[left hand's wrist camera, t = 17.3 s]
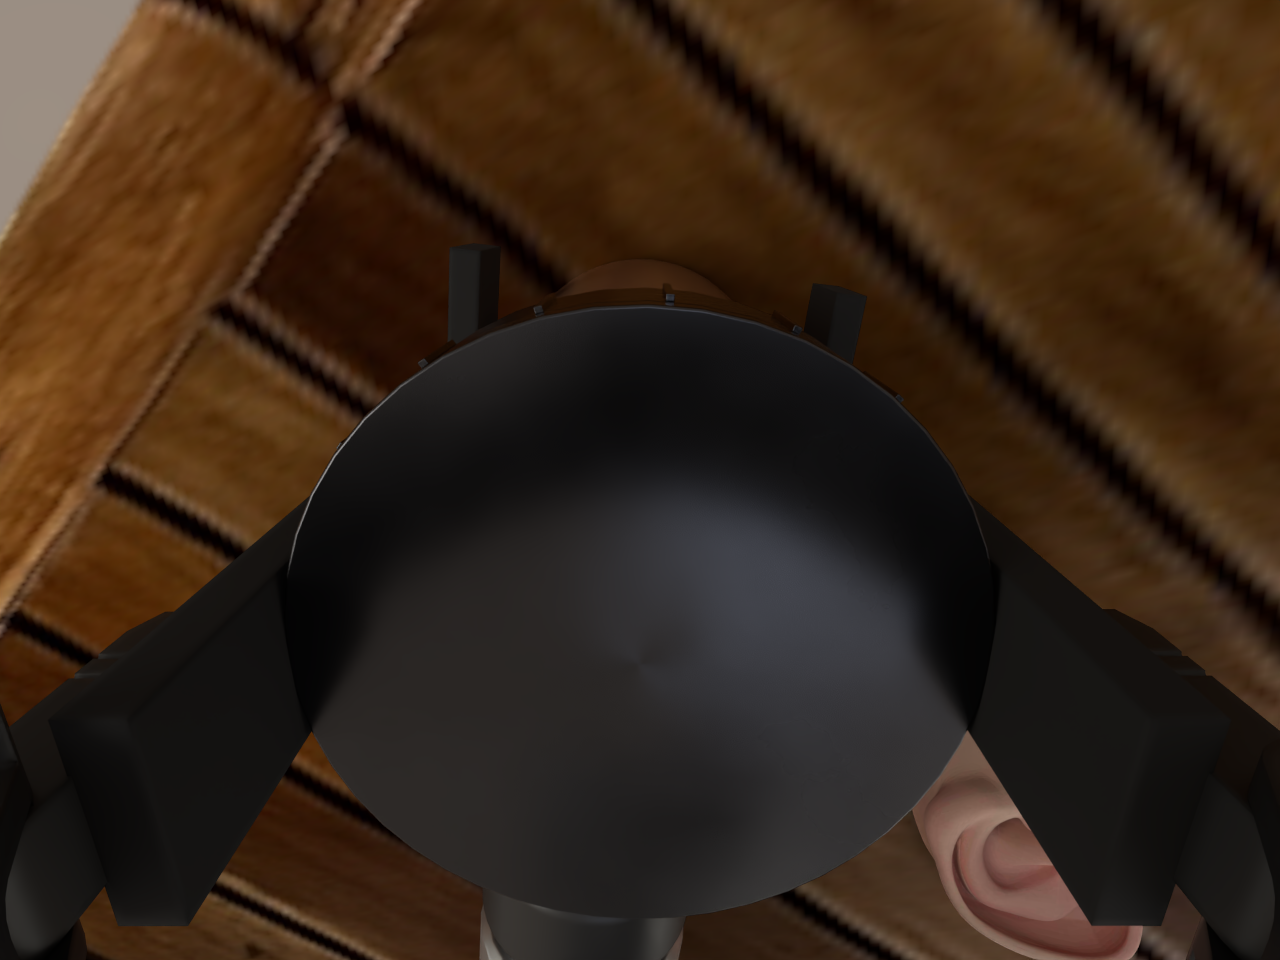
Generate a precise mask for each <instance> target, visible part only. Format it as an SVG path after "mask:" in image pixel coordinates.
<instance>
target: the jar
mask: <svg viewBox="0 0 1280 960" xmlns="http://www.w3.org/2000/svg"><path fill="white" fill-rule="evenodd" d="M663 283H670V284H671V287H672V289H673V290H681V291H692V292H696V293H701V294H705V295H709V296H714V297H718V298H722V299H727V300H731V299H730V298H729V297H728V296H727V295H726V294H725V293H724V292H722V291H721V290H720V289H719V288H718V287H716V286H715V285H714V284H713V283H711V282H710V281H709V280H707V279H706V278H704V277H702V276H700V275H699V274H697V273H695V272H694V271H691V270H689V269H686V268H684V267H681V266H679V265H676V264H672V263H668V262H664V261H658V260H649V259H629V260H623V261H616V262H611V263H608V264H605V265H601V266H598V267H595V268H593V269H591V270H589V271H587V272H585V273H582V274H581V275H579V276H578V277H576V278H574V279H573V280H571V281H570V282H568V283H567V284H566V285H565V286H563V287H562V288H561V289H560V290H559V291H557V292H556V293H555V295H556V298H558V297H564V296H569V295H575V294H580V293H586V292H591V291H597V290H602V289H624V288H646V287H647V288H658V289H662V287H663ZM731 301H732V300H731Z"/></svg>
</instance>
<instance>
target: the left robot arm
mask: <svg viewBox="0 0 1280 960" xmlns="http://www.w3.org/2000/svg"><path fill="white" fill-rule="evenodd" d="M968 496H969V495H968ZM309 497H310V496H309ZM309 497H308V498H307V499H306V500H304V501H303V502H302V503H301V504H300V505H299V506H297V507H296V508H295V509H294V510H293V511H292V512H290V513H289V514H288V515H287V516H286V517H285V518H283V519H282V520H281V521H280V522H279V523H278V524H276V525H275V526H274V527H273V528H272V529H270V530H269V531H268V532H267V533H266V534H265V535H263V536H262V537H261V538H260V539H259V540H258V541H256V542H255V543H254V544H253V545H252V546H251V547H249V548H248V549H247V550H246V551H245V552H244V553H242V554H241V555H240V556H239V557H238V558H237V559H235V560H234V561H233V562H232V563H231V564H230V565H228V566H227V567H226V568H225V569H224V570H222V571H221V572H220V573H219V574H218V575H217V576H215V577H214V578H213V579H212V580H211V581H210V582H208V583H207V584H206V585H205V586H204V587H203V588H201V589H200V590H199V591H198V592H197V593H196V594H194V595H193V596H192V597H191V598H190V599H189V600H187V601H186V602H185V603H184V604H183V605H182V606H180V607H179V608H178V609H177V610H176V611H175V612H164V613H162V614H160V615H158V616H156V617H154V618H152V619H150V620H148V621H146V622H144V623H142V624H140V625H139V626H137V627H135V628H133V629H131V630H129V631H127V632H126V633H124V634H123V635H122V636H121V637H119V638H118V639H117V640H116V641H115V642H113V643H112V644H111V645H110V646H108V647H107V648H106V649H105V650H103V651H102V652H101V653H100V654H99V658H98V659H92V660H91V661H90V662H89V663H87V664H86V665H85V666H84V667H83V668H81V669H80V670H79V671H78V672H76V673H75V678H74V679H68V680H67V681H65V682H64V683H63V684H62V685H60V686H59V687H58V688H57V689H56V690H54V691H53V692H52V693H51V694H49V695H48V696H47V697H46V698H44V699H43V700H42V701H41V702H40V703H38V704H37V705H36V706H35V707H33V708H32V709H31V710H30V711H29V712H27V713H26V714H25V715H24V716H22V717H21V718H20V719H19V720H17V721H16V722H15V723H14V724H13V725H11V726H10V727H9V726H8V723H7V721H6V718H5V715H4V712H3V710H2V707H1V704H0V960H85V959H86V953H87V946H86V940H85V933H84V931H83V928H82V925H81V922H80V920H79V918H80V916H81V915H82V914H83V913H84V911H85V910H86V909H87V908H88V906H89V905H90V904H91V903H92V901H93V900H94V899H95V898H96V896H97V895H98V894H99V893H100V891H101V890H102V889H103V888H104V886H105V888H106V891H107V894H108V897H109V900H110V903H111V906H112V909H113V912H114V915H115V917H116V920H117V923H118V926H188V925H189V923H190V922H191V920H192V919H193V917H194V916H195V914H196V912H197V911H198V909H199V908H200V906H201V905H202V903H203V901H204V900H205V898H206V897H207V895H208V894H209V892H210V890H211V889H212V887H213V886H214V884H215V882H216V881H217V879H218V878H219V876H220V875H221V873H222V871H223V870H224V868H225V867H226V865H227V864H228V862H229V860H230V859H231V857H232V856H233V854H234V853H235V851H236V849H237V848H238V846H239V845H240V843H241V841H242V840H243V838H244V837H245V835H246V834H247V832H248V830H249V829H250V827H251V826H252V824H253V823H254V821H255V819H256V818H257V816H258V815H259V813H260V812H261V810H262V808H263V807H264V805H265V804H266V802H267V801H268V799H269V797H270V796H271V794H272V793H273V791H274V789H275V788H276V786H277V785H278V783H279V782H280V780H281V778H282V777H283V775H284V774H285V772H286V771H287V769H288V767H289V766H290V764H291V763H292V761H293V760H294V758H295V756H296V755H297V753H298V752H299V750H300V749H301V747H302V745H303V744H304V742H305V741H306V739H307V737H308V736H309V734H310V733H311V731H312V730H311V728H310V726H309V723H308V721H307V718H306V716H305V713H304V711H303V708H302V706H301V703H300V701H299V698H298V696H297V692H296V688H295V684H294V679H293V674H292V669H291V664H290V660H289V654H288V648H287V643H286V633H285V623H284V608H285V591H286V574H287V570H288V565H289V561H290V556H291V552H292V547H293V542H294V538H295V533H296V531H297V528H298V526H299V523H300V520H301V518H302V515H303V513H304V510H305V508H306V505H307V502H308V500H309ZM969 497H970V496H969ZM970 499H971V501H972V503H973V505H974V508H975V511H976V514H977V517H978V520H979V523H980V526H981V529H982V532H983V535H984V538H985V541H986V544H987V547H988V553H989V559H990V565H991V571H992V577H993V583H994V605H995V632H994V639H993V645H992V651H991V656H990V662H989V667H988V672H987V677H986V681H985V685H984V688H983V692H982V695H981V698H980V702H979V705H978V708H977V710H976V712H975V715H974V717H973V719H972V721H971V723H970V725H969V728H968V732H969V733H970V735H971V737H972V738H973V740H974V741H975V743H976V744H977V746H978V748H979V749H980V751H981V752H982V754H983V756H984V757H985V759H986V760H987V762H988V763H989V765H990V767H991V768H992V770H993V771H994V773H995V774H996V776H997V778H998V779H999V781H1000V782H1001V784H1002V785H1003V787H1004V789H1005V790H1006V792H1007V793H1008V795H1009V797H1010V798H1011V800H1012V801H1013V803H1014V804H1015V806H1016V808H1017V809H1018V811H1019V812H1020V814H1021V815H1022V817H1023V819H1024V820H1025V822H1026V823H1027V825H1028V826H1029V828H1030V830H1031V831H1032V833H1033V834H1034V836H1035V837H1036V839H1037V841H1038V842H1039V844H1040V845H1041V847H1042V849H1043V850H1044V852H1045V853H1046V855H1047V856H1048V858H1049V860H1050V861H1051V863H1052V864H1053V866H1054V867H1055V869H1056V871H1057V872H1058V874H1059V875H1060V877H1061V878H1062V880H1063V882H1064V883H1065V885H1066V886H1067V888H1068V890H1069V891H1070V893H1071V894H1072V896H1073V897H1074V899H1075V901H1076V902H1077V904H1078V905H1079V907H1080V908H1081V910H1082V912H1083V913H1084V915H1085V916H1086V918H1087V919H1088V921H1089V923H1090V924H1091V926H1161V924H1162V922H1163V919H1164V916H1165V913H1166V910H1167V907H1168V904H1169V901H1170V898H1171V895H1172V892H1173V889H1174V887H1175V884H1177V885H1178V887H1179V888H1180V889H1181V890H1182V892H1183V893H1184V894H1185V895H1186V897H1187V898H1188V899H1189V900H1190V902H1191V903H1192V904H1193V905H1194V907H1195V908H1196V909H1197V910H1198V912H1199V913H1200V914H1201V915H1202V917H1201V920H1200V922H1199V925H1198V928H1197V931H1196V933H1195V936H1194V939H1193V942H1192V944H1191V947H1190V950H1189V952H1188V955H1187V958H1186V960H1280V731H1279V730H1278V729H1277V728H1276V727H1274V726H1273V725H1272V724H1271V723H1269V722H1268V721H1267V720H1266V719H1264V718H1263V717H1262V716H1261V715H1259V714H1258V713H1257V712H1256V711H1255V710H1253V709H1252V708H1251V707H1250V706H1248V705H1247V704H1246V703H1245V702H1243V701H1242V700H1241V699H1240V698H1238V697H1237V696H1236V695H1235V694H1233V693H1232V692H1231V691H1230V690H1229V689H1227V688H1226V687H1225V686H1224V685H1222V684H1221V683H1220V682H1219V681H1217V680H1216V679H1215V678H1214V677H1212V676H1206V674H1205V670H1204V669H1203V668H1201V667H1200V666H1199V665H1198V664H1196V663H1195V662H1194V661H1193V660H1191V659H1190V658H1189V657H1188V656H1182V654H1181V651H1180V650H1179V649H1178V648H1177V647H1175V646H1174V645H1173V644H1172V643H1170V642H1169V641H1168V640H1167V639H1165V638H1164V637H1163V636H1162V635H1160V634H1159V633H1158V632H1157V631H1155V630H1154V629H1153V628H1151V627H1149V626H1147V625H1145V624H1143V623H1141V622H1139V621H1137V620H1135V619H1133V618H1131V617H1129V616H1127V615H1125V614H1123V613H1121V612H1119V611H1117V610H1115V609H1101V608H1100V607H1099V606H1098V605H1097V604H1096V603H1094V602H1093V601H1092V600H1091V599H1090V598H1089V597H1087V596H1086V595H1085V594H1084V593H1083V592H1082V591H1080V590H1079V589H1078V588H1077V587H1076V586H1075V585H1073V584H1072V583H1071V582H1070V581H1069V580H1068V579H1066V578H1065V577H1064V576H1063V575H1062V574H1061V573H1059V572H1058V571H1057V570H1056V569H1055V568H1053V567H1052V566H1051V565H1050V564H1049V563H1048V562H1046V561H1045V560H1044V559H1043V558H1042V557H1041V556H1039V555H1038V554H1037V553H1036V552H1035V551H1034V550H1032V549H1031V548H1030V547H1029V546H1028V545H1027V544H1025V543H1024V542H1023V541H1022V540H1021V539H1020V538H1018V537H1017V536H1016V535H1015V534H1014V533H1013V532H1011V531H1010V530H1009V529H1008V528H1007V527H1006V526H1004V525H1003V524H1002V523H1001V522H1000V521H998V520H997V519H996V518H995V517H994V516H993V515H991V514H990V513H989V512H988V511H987V510H986V509H984V508H983V507H982V506H981V505H980V504H979V503H977V502H976V501H975V500H974V499H973V498H972V497H970Z"/></svg>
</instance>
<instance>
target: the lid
mask: <svg viewBox="0 0 1280 960" xmlns="http://www.w3.org/2000/svg"><path fill="white" fill-rule="evenodd" d="M418 364H419V365H420V366H421V368H422V369H420V370H419V371H417V372H416V373H415V374H413V375H412V376H410V377H409V378H408V379H406V380H405V381H403V382H402V383H400V384H399V385H398V386H397V387H396V388H395V389H394V390H393V391H392V392H390V393H389V394H388V395H387V396H386V397H385V398H384V399H383V400H382V401H381V402H379V403H378V404H377V405H376V406H375V407H374V408H373V409H372V410H371V411H370V412H369V413H367V414H366V415H365V416H364V417H363V418H362V420H361V421H360V422H359V423H358V425H357V426H356V427H355V428H354V430H353V431H352V432H351V433H350V434H349V436H348V437H347V438H346V439H344V440H343V441H342V442H340V444H339V445H338V447H337V451H336V452H335V453H334V455H333V456H332V458H331V460H330V461H329V463H328V465H327V467H326V468H325V470H324V472H323V473H322V475H321V477H320V479H319V480H318V482H317V484H316V485H315V487H314V489H313V491H312V492H311V495H310V497H309V500H308V502H307V505H306V508H305V510H304V513H303V515H302V518H301V520H300V523H299V526H298V528H297V531H296V533H295V538H294V542H293V547H292V552H291V556H290V561H289V565H288V570H287V574H286V591H285V608H284V623H285V633H286V643H287V648H288V654H289V660H290V664H291V669H292V674H293V679H294V684H295V688H296V692H297V696H298V698H299V701H300V703H301V706H302V708H303V711H304V713H305V716H306V718H307V721H308V723H309V726H310V728H311V730H312V733H313V734H314V736H315V738H316V740H317V741H318V743H319V745H320V746H321V748H322V750H323V752H324V753H325V755H326V757H327V759H328V760H329V762H330V764H331V766H332V767H333V768H334V769H335V771H336V772H337V773H338V775H339V776H340V777H341V779H342V780H343V781H344V783H345V784H346V785H347V786H348V788H349V789H350V790H351V792H352V793H353V794H354V796H355V797H356V798H357V799H358V800H359V801H360V802H361V803H362V804H363V805H364V806H365V807H366V808H367V809H368V810H369V811H370V812H371V813H372V814H373V815H374V816H375V817H376V818H377V819H378V820H379V821H380V822H381V823H382V824H383V825H384V826H385V827H387V828H388V829H389V830H390V831H391V832H393V833H394V834H395V835H396V836H398V837H399V838H400V839H401V840H403V841H404V842H405V843H406V844H408V845H409V846H410V847H411V848H413V849H414V850H416V851H417V852H419V853H420V854H422V855H424V856H425V857H427V858H428V859H430V860H431V861H433V862H435V863H436V864H438V865H439V866H441V867H442V868H444V869H446V870H448V871H450V872H452V873H454V874H456V875H458V876H460V877H462V878H464V879H466V880H468V881H470V882H472V883H474V884H476V885H478V886H480V887H482V888H485V889H488V890H491V891H493V892H496V893H499V894H501V895H504V896H507V897H509V898H512V899H515V900H517V901H521V902H525V903H529V904H533V905H536V906H540V907H544V908H548V909H552V910H556V911H562V912H568V913H574V914H581V915H587V916H593V917H607V918H623V919H654V918H676V917H683V916H691V915H699V914H707V913H713V912H718V911H722V910H726V909H731V908H735V907H739V906H744V905H748V904H752V903H755V902H758V901H761V900H764V899H767V898H770V897H773V896H776V895H778V894H781V893H784V892H787V891H790V890H792V889H794V888H796V887H798V886H801V885H803V884H805V883H807V882H809V881H812V880H814V879H816V878H818V877H820V876H823V875H824V874H826V873H828V872H829V871H831V870H833V869H835V868H836V867H838V866H840V865H841V864H843V863H845V862H846V861H848V860H850V859H852V858H853V857H855V856H857V855H858V854H859V853H861V852H862V851H863V850H865V849H866V848H867V847H869V846H870V845H871V844H873V843H874V842H875V841H877V840H878V839H879V838H881V837H882V836H883V835H885V834H886V833H887V832H888V831H890V830H891V829H892V828H893V827H894V826H895V825H896V824H897V823H898V822H899V821H900V820H901V819H902V818H903V817H904V816H905V815H906V814H908V813H909V812H910V811H911V810H912V809H913V808H914V807H915V806H916V805H917V804H918V802H919V801H920V800H921V799H922V798H923V796H924V795H925V794H926V793H927V792H928V790H929V789H930V788H931V787H932V786H933V784H934V783H935V782H936V781H937V780H938V778H939V777H940V776H941V774H942V773H943V771H944V770H945V768H946V767H947V765H948V763H949V762H950V760H951V759H952V757H953V756H954V754H955V752H956V751H957V749H958V748H959V746H960V744H961V743H962V741H963V738H964V736H965V734H966V732H967V730H968V728H969V725H970V723H971V721H972V719H973V717H974V715H975V712H976V710H977V708H978V705H979V702H980V698H981V695H982V692H983V688H984V685H985V681H986V677H987V672H988V667H989V662H990V656H991V651H992V645H993V639H994V632H995V605H994V583H993V577H992V571H991V565H990V559H989V553H988V547H987V544H986V541H985V538H984V535H983V532H982V529H981V526H980V523H979V520H978V517H977V514H976V511H975V508H974V505H973V503H972V501H971V499H970V497H969V496H968V494H967V492H966V490H965V488H964V486H963V484H962V482H961V480H960V478H959V476H958V474H957V472H956V470H955V468H954V466H953V465H952V464H951V462H950V461H949V460H948V458H947V457H946V455H945V454H944V453H943V451H942V450H941V449H940V447H939V446H938V444H937V443H936V442H935V440H934V439H933V438H932V436H931V435H930V434H929V432H928V431H927V429H926V428H925V427H924V426H923V425H922V424H921V423H920V422H919V421H918V420H917V419H916V418H915V417H914V416H913V415H912V414H911V413H910V412H909V411H908V410H907V409H906V408H905V407H904V406H903V405H902V404H901V402H902V401H903V400H904V399H903V398H902V397H901V396H900V395H899V394H898V393H896V392H895V391H893V390H892V389H891V388H889V387H888V386H886V385H885V384H883V383H882V382H881V381H879V380H878V379H876V378H875V377H873V376H872V375H870V374H869V373H868V372H866V371H864V372H861V371H860V370H859V369H857V368H856V367H855V366H853V365H852V364H851V363H849V362H848V361H846V360H845V359H844V358H842V357H841V356H839V355H838V354H837V353H835V352H834V351H832V350H831V349H829V348H828V347H827V346H825V345H824V344H822V343H821V342H820V341H818V340H817V339H815V338H814V337H812V336H810V335H808V334H807V333H805V332H803V331H802V327H800V326H799V325H797V324H796V323H794V322H793V321H792V320H790V319H789V318H787V317H786V316H784V315H783V314H782V313H780V312H778V311H776V310H774V312H773V314H772V315H770V314H767V313H765V312H762V311H759V310H757V309H754V308H751V307H749V306H746V305H743V304H741V303H738V302H735V301H731V300H727V299H722V298H718V297H714V296H709V295H705V294H701V293H696V292H692V291H681V290H673V289H672V287H671V284H670V283H663V287H662V289H658V288H647V287H646V288H624V289H602V290H597V291H591V292H586V293H580V294H575V295H569V296H564V297H558V298H556V295H555V293H552V294H548V295H547V296H546V297H545V298H544V299H543V300H541V301H540V302H539V303H538V304H537V305H534V306H531V307H528V308H525V309H522V310H518V311H516V312H514V313H512V314H509V315H507V316H505V317H503V318H501V319H499V320H497V321H495V322H493V323H491V324H489V325H487V326H485V327H483V328H481V329H479V330H477V331H475V332H474V333H472V334H471V335H469V336H468V337H467V338H465V339H464V340H462V341H461V342H459V343H458V344H456V343H455V342H454V340H453V339H452V340H451V341H449V342H448V343H446V344H445V345H443V346H442V347H440V348H439V349H437V350H436V351H434V352H433V353H431V354H430V355H428V356H427V357H425V358H424V359H422V360H421V361H419V362H418Z"/></svg>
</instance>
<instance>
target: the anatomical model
mask: <svg viewBox="0 0 1280 960" xmlns="http://www.w3.org/2000/svg"><path fill="white" fill-rule="evenodd" d="M912 811H913V815H914V818H915V821H916V824H917V827H918V830H919V832H920V834H921V837H922V839H923V841H924V844H925V845H926V847H927V849H928V850H929V852H930V854H931V855H932V857H933V858H934V860H935V863H936V866H937V870H938V873H939V876H940V879H941V882H942V884H943V887H944V889H945V892H946V894H947V896H948V897H949V899H950V901H951V903H952V904H953V906H954V907H955V909H956V910H957V911H958V913H959V914H960V915H961V916H962V917H963V918H964V919H965V920H966V921H967V922H968V924H970V925H971V926H972V927H973V928H975V929H976V930H977V931H978V932H980V933H981V934H983V935H984V936H986V937H988V938H989V939H991V940H993V941H994V942H996V943H998V944H1000V945H1002V946H1004V947H1006V948H1008V949H1010V950H1012V951H1015V952H1017V953H1019V954H1022V955H1025V956H1028V957H1031V958H1034V959H1037V960H1129V959H1130V958H1131V957H1132V956H1133V955H1134V953H1135V952H1136V950H1137V948H1138V947H1139V944H1140V941H1141V936H1142V928H1143V926H1091V924H1090V923H1089V921H1088V919H1087V918H1086V916H1085V915H1084V913H1083V912H1082V910H1081V908H1080V907H1079V905H1078V904H1077V902H1076V901H1075V899H1074V897H1073V896H1072V894H1071V893H1070V891H1069V890H1068V888H1067V886H1066V885H1065V883H1064V882H1063V880H1062V878H1061V877H1060V875H1059V874H1058V872H1057V871H1056V869H1055V867H1054V866H1053V864H1052V863H1051V861H1050V860H1049V858H1048V856H1047V855H1046V853H1045V852H1044V850H1043V849H1042V847H1041V845H1040V844H1039V842H1038V841H1037V839H1036V837H1035V836H1034V834H1033V833H1032V831H1031V830H1030V828H1029V826H1028V825H1027V823H1026V822H1025V820H1024V819H1023V817H1022V815H1021V814H1020V812H1019V811H1018V809H1017V808H1016V806H1015V804H1014V803H1013V801H1012V800H1011V798H1010V797H1009V795H1008V793H1007V792H1006V790H1005V789H1004V787H1003V785H1002V784H1001V782H1000V781H999V779H998V778H997V776H996V774H995V773H994V771H993V770H992V768H991V767H990V765H989V763H988V762H987V760H986V759H985V757H984V756H983V754H982V752H981V751H980V749H979V748H978V746H977V744H976V743H975V741H974V740H973V738H972V737H971V735H970V733H969V732H968V730H967V732H966V734H965V736H964V738H963V741H962V743H961V744H960V746H959V748H958V749H957V751H956V752H955V754H954V756H953V757H952V759H951V760H950V762H949V763H948V765H947V767H946V768H945V770H944V771H943V773H942V774H941V776H940V777H939V778H938V780H937V781H936V782H935V783H934V784H933V786H932V787H931V788H930V789H929V790H928V792H927V793H926V794H925V795H924V796H923V798H922V799H921V800H920V801H919V802H918V804H917V805H916V806H915V807H914V808H913V809H912Z"/></svg>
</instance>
